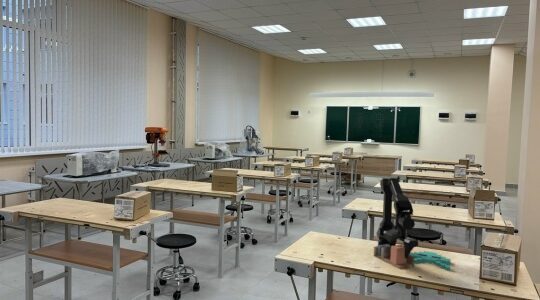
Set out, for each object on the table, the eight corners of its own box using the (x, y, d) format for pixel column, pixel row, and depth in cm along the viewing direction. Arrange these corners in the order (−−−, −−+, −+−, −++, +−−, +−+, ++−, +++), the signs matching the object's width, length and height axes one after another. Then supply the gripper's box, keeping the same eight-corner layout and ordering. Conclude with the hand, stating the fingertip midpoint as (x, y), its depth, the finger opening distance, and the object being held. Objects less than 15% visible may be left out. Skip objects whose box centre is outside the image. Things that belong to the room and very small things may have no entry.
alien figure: (450, 272, 188) (450, 259, 206) (450, 267, 187) (450, 255, 206) (406, 264, 196) (410, 252, 214) (406, 259, 196) (410, 248, 214)
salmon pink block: (401, 260, 197) (402, 244, 197) (406, 262, 194) (407, 247, 193) (390, 261, 194) (391, 246, 194) (395, 264, 191) (396, 248, 190)
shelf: (387, 254, 209) (387, 242, 208) (413, 266, 191) (414, 253, 191) (373, 255, 205) (374, 243, 204) (399, 268, 188) (400, 255, 187)
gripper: (375, 220, 198) (373, 250, 199) (402, 230, 181) (399, 263, 182) (392, 219, 202) (391, 248, 203) (420, 228, 185) (417, 260, 186)
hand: (399, 255), depth 194 cm, fingers open, 9 cm apart
